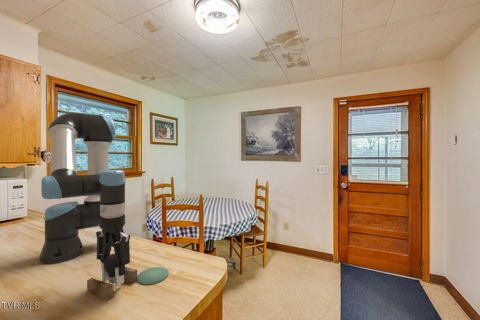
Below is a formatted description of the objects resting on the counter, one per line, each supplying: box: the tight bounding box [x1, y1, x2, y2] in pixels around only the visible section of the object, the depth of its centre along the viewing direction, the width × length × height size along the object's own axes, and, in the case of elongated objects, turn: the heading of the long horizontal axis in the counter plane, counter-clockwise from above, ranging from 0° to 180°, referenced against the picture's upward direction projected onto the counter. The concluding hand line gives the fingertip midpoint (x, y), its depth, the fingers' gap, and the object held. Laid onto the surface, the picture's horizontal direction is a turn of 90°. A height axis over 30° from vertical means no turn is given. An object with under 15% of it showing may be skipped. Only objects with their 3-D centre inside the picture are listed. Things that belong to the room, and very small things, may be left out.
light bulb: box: [103, 253, 117, 285], centre depth 74 cm, size 6×6×10 cm
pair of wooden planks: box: [86, 266, 138, 301], centre depth 74 cm, size 10×11×4 cm
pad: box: [136, 266, 169, 286], centre depth 80 cm, size 11×11×1 cm
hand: (113, 281), depth 74 cm, fingers closed on light bulb, 6 cm apart
